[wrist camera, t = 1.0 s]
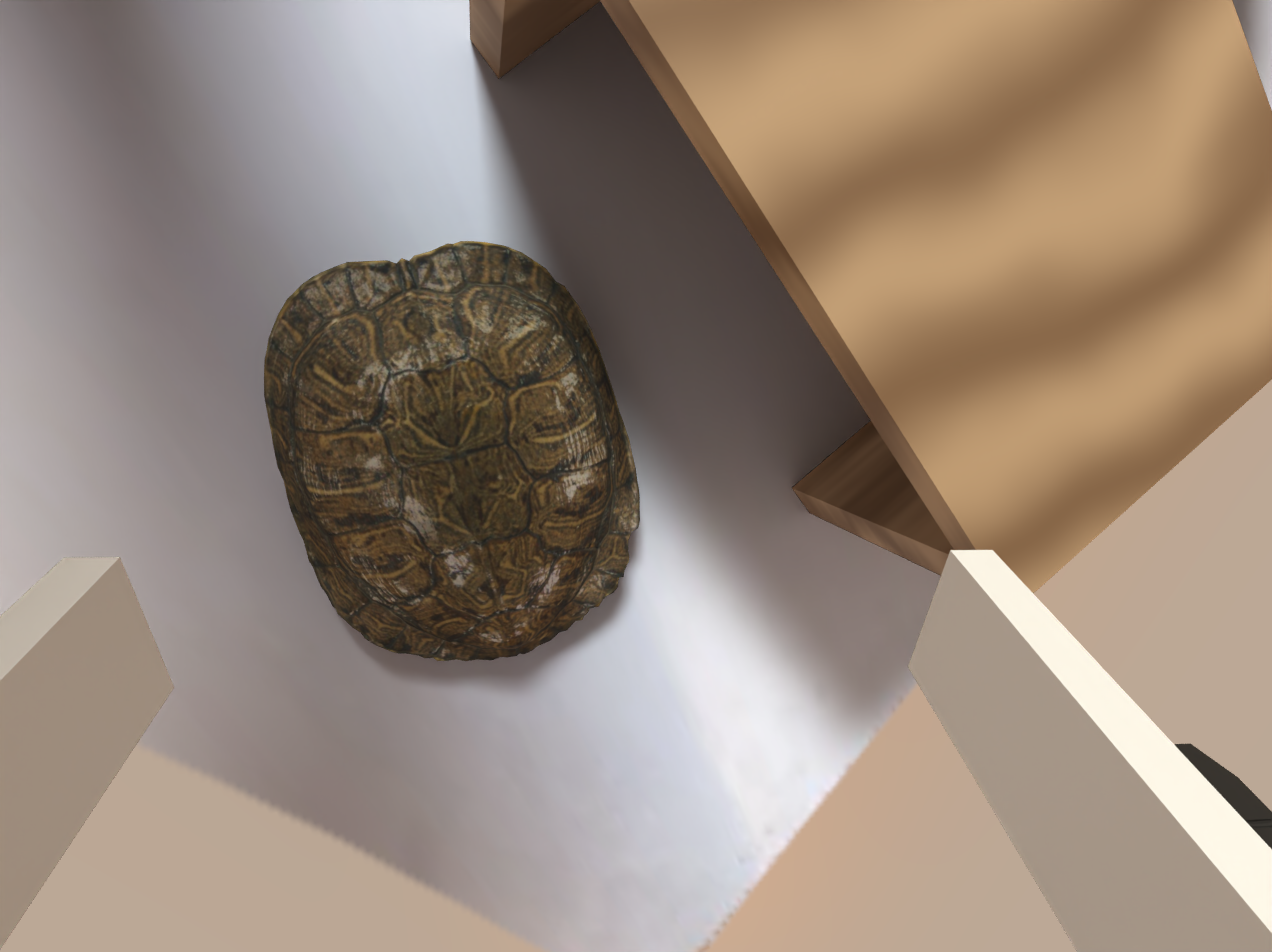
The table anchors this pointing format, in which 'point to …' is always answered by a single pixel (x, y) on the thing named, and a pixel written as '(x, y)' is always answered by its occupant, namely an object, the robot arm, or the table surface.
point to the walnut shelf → (984, 237)
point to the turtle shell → (451, 450)
